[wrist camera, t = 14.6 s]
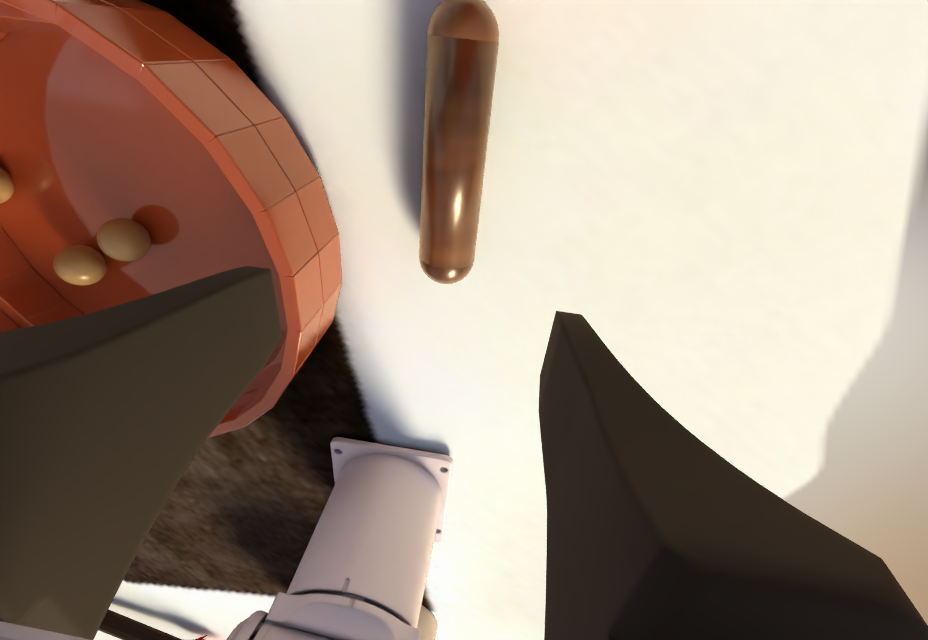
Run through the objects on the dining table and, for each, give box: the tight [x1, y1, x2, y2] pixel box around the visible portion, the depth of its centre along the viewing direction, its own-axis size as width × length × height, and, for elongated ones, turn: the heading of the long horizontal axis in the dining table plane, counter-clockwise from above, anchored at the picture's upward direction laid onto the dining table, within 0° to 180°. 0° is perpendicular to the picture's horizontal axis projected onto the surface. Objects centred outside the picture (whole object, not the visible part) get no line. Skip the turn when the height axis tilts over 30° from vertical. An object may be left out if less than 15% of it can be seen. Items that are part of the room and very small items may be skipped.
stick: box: [419, 0, 499, 284], centre depth 17 cm, size 10×2×2 cm, turn 175°
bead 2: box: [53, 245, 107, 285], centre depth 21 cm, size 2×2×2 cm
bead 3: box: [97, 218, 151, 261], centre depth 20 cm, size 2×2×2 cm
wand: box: [98, 610, 207, 640], centre depth 48 cm, size 4×4×30 cm
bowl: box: [0, 0, 342, 438], centre depth 19 cm, size 19×19×5 cm
